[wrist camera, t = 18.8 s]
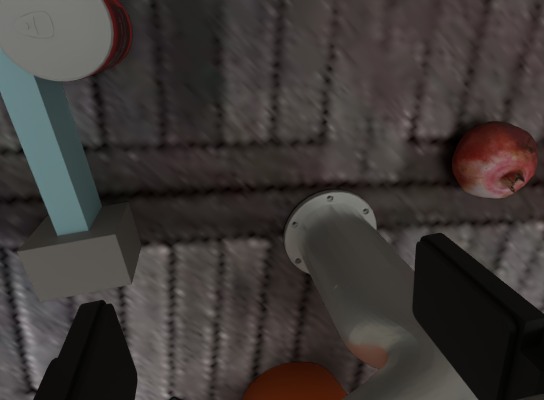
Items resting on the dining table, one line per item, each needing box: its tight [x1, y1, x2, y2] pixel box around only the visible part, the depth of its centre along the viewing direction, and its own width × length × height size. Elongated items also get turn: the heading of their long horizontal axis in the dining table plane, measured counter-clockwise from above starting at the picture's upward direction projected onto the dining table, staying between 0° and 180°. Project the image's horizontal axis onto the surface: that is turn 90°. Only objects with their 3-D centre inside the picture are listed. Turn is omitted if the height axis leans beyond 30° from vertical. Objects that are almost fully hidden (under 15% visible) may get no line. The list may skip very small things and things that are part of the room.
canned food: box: [0, 0, 132, 81], centre depth 31 cm, size 8×8×11 cm
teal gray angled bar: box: [0, 48, 141, 302], centre depth 36 cm, size 30×15×8 cm, turn 6°
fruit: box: [452, 121, 538, 198], centre depth 45 cm, size 9×10×10 cm
